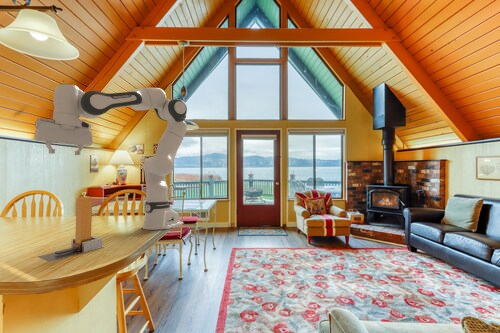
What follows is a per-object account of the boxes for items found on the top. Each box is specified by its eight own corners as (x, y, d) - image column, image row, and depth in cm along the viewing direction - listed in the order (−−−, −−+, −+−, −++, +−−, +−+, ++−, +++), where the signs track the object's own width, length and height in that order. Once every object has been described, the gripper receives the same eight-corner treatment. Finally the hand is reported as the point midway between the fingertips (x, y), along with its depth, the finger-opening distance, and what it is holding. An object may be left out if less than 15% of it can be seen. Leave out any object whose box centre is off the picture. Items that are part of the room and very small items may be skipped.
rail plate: (90, 245, 96) (90, 243, 96) (103, 249, 92) (103, 247, 92) (37, 258, 81) (37, 256, 81) (49, 263, 77) (49, 261, 77)
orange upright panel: (86, 245, 93) (87, 196, 93) (93, 247, 90) (94, 197, 91) (52, 253, 83) (54, 199, 84) (59, 256, 81) (61, 199, 82)
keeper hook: (89, 244, 96) (89, 235, 96) (102, 247, 91) (102, 238, 91) (71, 248, 90) (71, 239, 90) (83, 252, 86) (84, 242, 86)
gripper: (39, 116, 92) (37, 152, 91) (94, 125, 110) (94, 155, 109) (31, 117, 95) (30, 152, 94) (87, 126, 113) (86, 156, 112)
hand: (65, 154), depth 102 cm, fingers open, 8 cm apart
